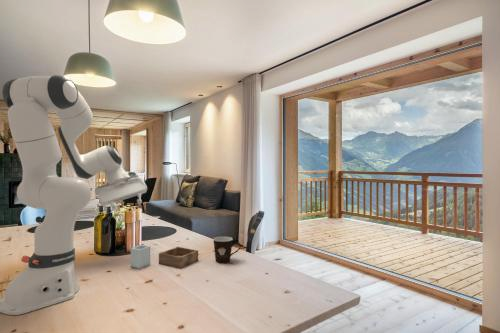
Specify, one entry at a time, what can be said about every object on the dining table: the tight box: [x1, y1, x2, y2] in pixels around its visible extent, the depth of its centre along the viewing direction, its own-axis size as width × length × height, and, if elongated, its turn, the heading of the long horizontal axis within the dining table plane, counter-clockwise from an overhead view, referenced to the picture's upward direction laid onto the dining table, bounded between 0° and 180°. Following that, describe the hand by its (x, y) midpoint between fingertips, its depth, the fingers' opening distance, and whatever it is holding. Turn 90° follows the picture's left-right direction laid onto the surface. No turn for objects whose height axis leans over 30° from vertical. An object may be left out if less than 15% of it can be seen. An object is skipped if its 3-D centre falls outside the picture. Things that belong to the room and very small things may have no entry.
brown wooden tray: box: [158, 246, 199, 269], centre depth 136 cm, size 12×12×4 cm
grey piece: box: [130, 244, 151, 270], centre depth 130 cm, size 6×5×8 cm
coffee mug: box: [213, 236, 242, 264], centre depth 137 cm, size 12×9×10 cm
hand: (129, 206), depth 134 cm, fingers open, 8 cm apart
